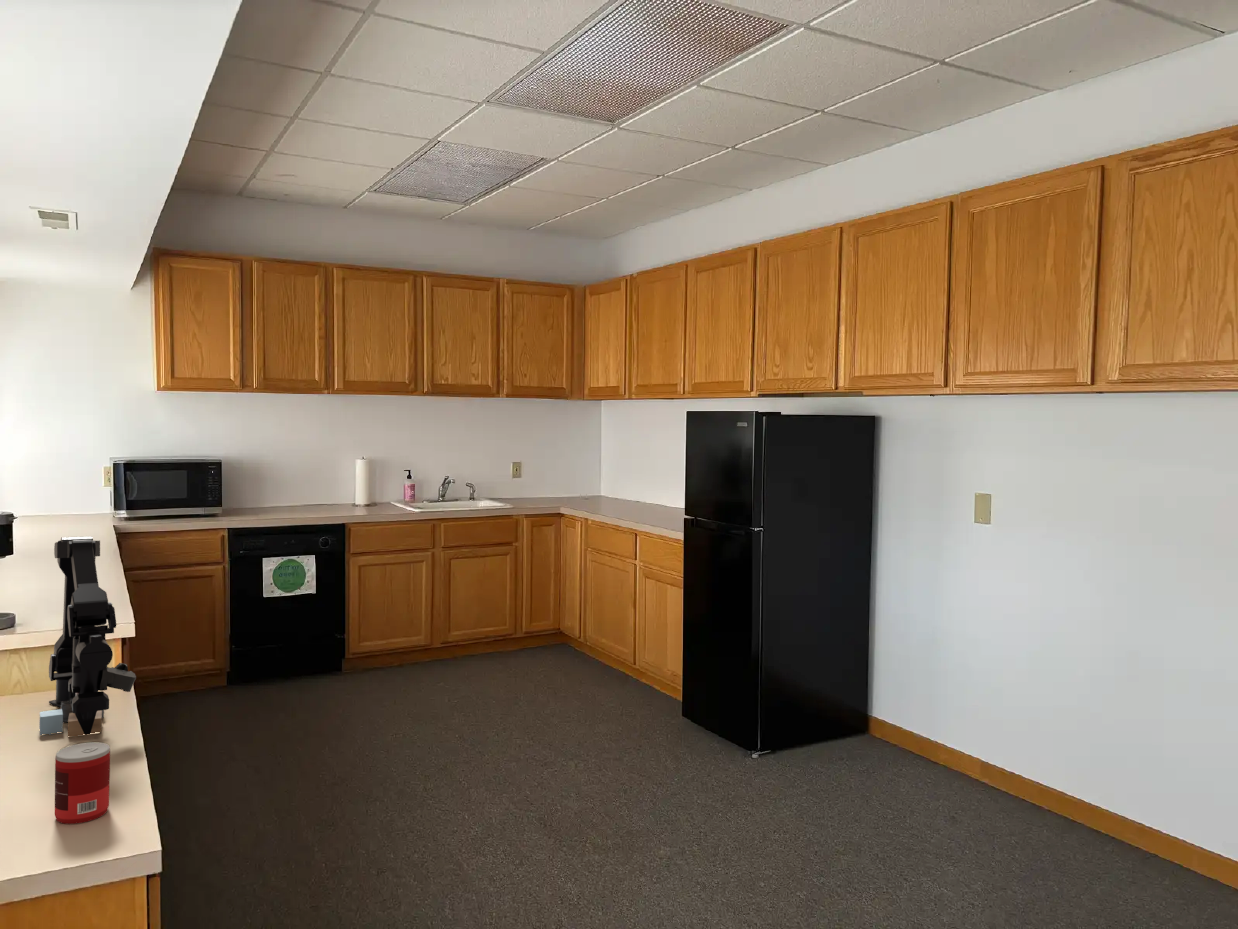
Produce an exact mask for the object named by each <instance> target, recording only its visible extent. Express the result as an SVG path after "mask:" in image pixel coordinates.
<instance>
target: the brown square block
mask: <svg viewBox="0 0 1238 929" xmlns="http://www.w3.org/2000/svg"><path fill="white" fill-rule="evenodd" d="M102 720H103V718H102V710H101V711H97V713H96V716H95V720H94V723H93V727H92V730H91V733H95V732H101V733H102V723H103V722H102ZM83 734H84V732H83V730H82V728H81V726H80V724H79V722H78V719H77V717H76V715H75V713H69V718H68V723H67V737H68V736H74V737H79V736H78V735H83ZM83 736H84V735H83Z"/></svg>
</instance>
